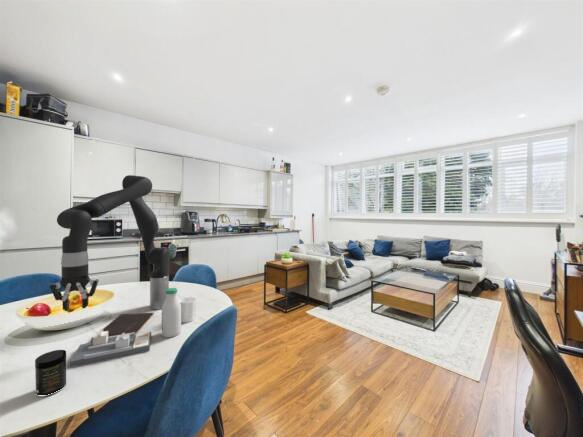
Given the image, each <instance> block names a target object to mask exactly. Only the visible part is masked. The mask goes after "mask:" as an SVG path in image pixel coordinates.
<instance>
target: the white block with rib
mask: <svg viewBox="0 0 583 437" xmlns="http://www.w3.org/2000/svg"><path fill="white" fill-rule="evenodd" d="M115 344H116V349H119V348H124V347H129V344H130V334H125V333H122V335H118V336H117V338H116V341H115Z"/></svg>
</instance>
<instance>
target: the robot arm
mask: <svg viewBox="0 0 583 437" xmlns="http://www.w3.org/2000/svg"><path fill="white" fill-rule="evenodd" d="M121 186H122V188H121V189H119V190H115V191H111V192H106V193H103V194H100V195H99V196H97V197H95V198H92V199H90V200H88V201H87V202H84V203H81V204H78V205H75V206H72V207H69V208H67V209H64V210H63V211H61V212H60V213H59V214H58V215H57V217H56V223H57V224H58V226H59V227H60V228H63V229H67V230H69V234H68V235H67V236H64V237H63V238H62V241H61V243H62V244H61V247H62V248H61V259H60V260H61V262H60V267H61V280H60V281H59V282H54V283H52V284H51V285H50V286H49V287H50V290H51V293H52V295H53V297H54V300H55V301H61V302H62V310H64V312H66V311H69V310H70V298H69V297H70V294H71V293H72V292H79V293H80V295H81V297H82V299H81V300H82V301H81V308H82V309H86V308H87V307H88V306H89V298H90V297H93V296H94V295H95V292H96V289H97V288H98V284H99V281H100V280H99V279H91V278H90V276H89V253H88V239H89V236H90V233H91V229H92V226H93V219H98V218H100V217H102V216H104V215H106V214H107V213H109V212H111V211H112V210H115V209H116V208H118V207H120V206H122V205H124V204H126V203H129V205H130V208H131V211H132V213H133V216H134V219H135V223H136V226H137V229H138V231H139V234H140V238H141V241H142V244H143V250H144V253H145V259H146V261H147V263H148V264H150V265H159V268H157V269H154V270H152V271H151V272H150V273H149V308H150V309H151V310H162V307H163V304H164V302H165V299H166V289H169V288H170V287H169V286H170V285H169V284H170V281H169V280H170V279H169V277H170V275H169V274H170V268H171V267H170V264H171V263H170V262H171V252H170V249H169V248H168V247H156V246H155V243H154V242H155V238H156V236H157V234H158V231H159V229H160V228H159V222H158V219H157V216H156V214H155V212H154V211H153V210H152V209H151V208H150V206H148V204H147V203H146V202H145V200H144V199H143V197H144V196H147V195H149V194H150V193H151V192H152V190H153V182H152V180H151V179H150V178H148V177H146V176H141V175H134V174H133V175H132V174H131V175H126V176H124V177H123V178H122V182H121ZM88 284H90V286H91V288H90V289H89V290H90V291H89V292H88V289H87V285H88ZM61 287H62V288H63V289H64V292H63V294H62V292H61V290H60V288H61Z"/></svg>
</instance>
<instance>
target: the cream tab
mask: <svg viewBox="0 0 583 437" xmlns="http://www.w3.org/2000/svg"><path fill="white" fill-rule="evenodd" d="M92 338H93V341H92V342H93V346H95V345H101V344H106V343H107V342H108V331H104V332H103V330H102V329H101V330H100V331H99V332H95V333H94V335H93V337H92Z"/></svg>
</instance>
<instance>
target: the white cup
mask: <svg viewBox="0 0 583 437" xmlns="http://www.w3.org/2000/svg"><path fill="white" fill-rule="evenodd" d="M178 300H179V302H180V305H181V323H190V322H192V321H194V320H195V317H196V315H195V314H196V303H197V302H196V301H197V299H196V297H192V296H190V297H189V296H188V297H183V298H179V299H178Z"/></svg>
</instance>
